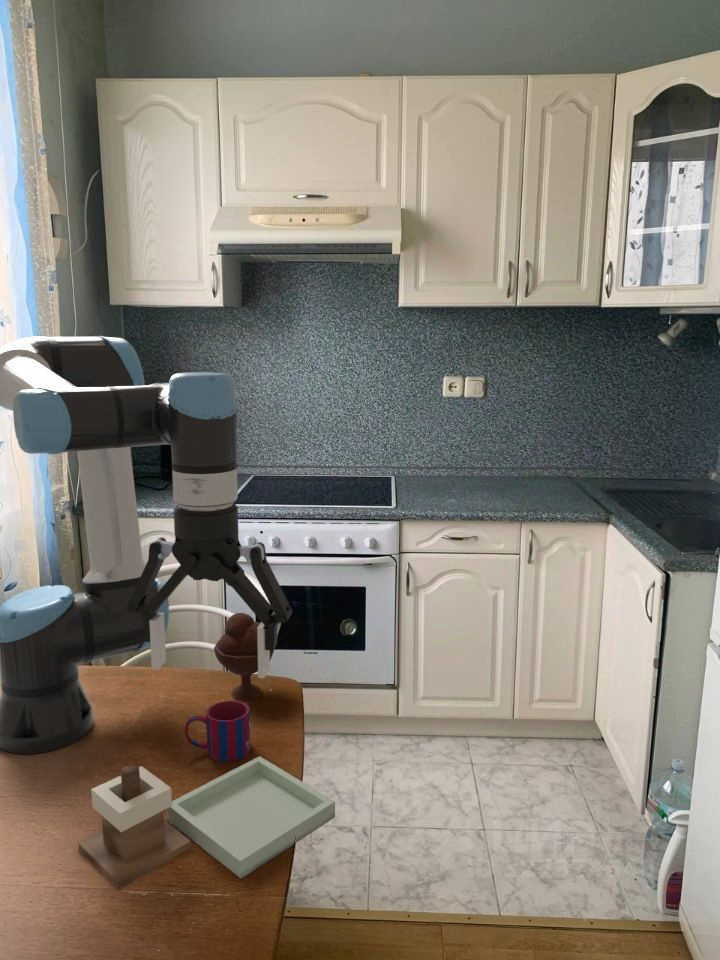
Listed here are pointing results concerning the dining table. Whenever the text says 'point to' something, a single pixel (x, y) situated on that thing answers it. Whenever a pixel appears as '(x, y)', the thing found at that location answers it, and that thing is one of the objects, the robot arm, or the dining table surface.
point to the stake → (133, 841)
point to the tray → (250, 814)
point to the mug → (225, 731)
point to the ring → (136, 809)
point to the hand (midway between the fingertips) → (211, 669)
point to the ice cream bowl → (240, 653)
